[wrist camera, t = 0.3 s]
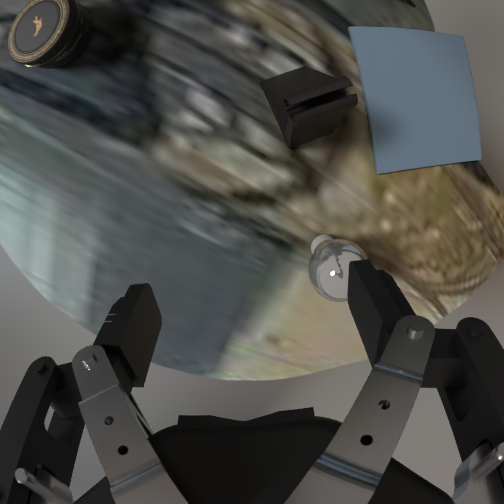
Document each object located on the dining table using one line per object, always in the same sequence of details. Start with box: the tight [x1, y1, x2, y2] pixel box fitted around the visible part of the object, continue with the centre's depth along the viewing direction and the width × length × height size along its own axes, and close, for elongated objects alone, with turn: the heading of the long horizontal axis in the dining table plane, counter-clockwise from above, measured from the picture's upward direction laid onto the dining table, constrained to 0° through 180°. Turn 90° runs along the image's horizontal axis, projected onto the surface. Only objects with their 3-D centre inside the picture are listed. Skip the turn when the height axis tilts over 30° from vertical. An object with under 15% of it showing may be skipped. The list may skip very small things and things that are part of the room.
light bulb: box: [308, 234, 368, 302], centre depth 36 cm, size 7×7×12 cm
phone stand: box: [260, 66, 358, 149], centre depth 29 cm, size 9×6×12 cm, turn 23°
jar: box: [8, 0, 92, 69], centre depth 24 cm, size 10×10×8 cm
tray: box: [348, 27, 482, 174], centre depth 33 cm, size 20×20×1 cm
